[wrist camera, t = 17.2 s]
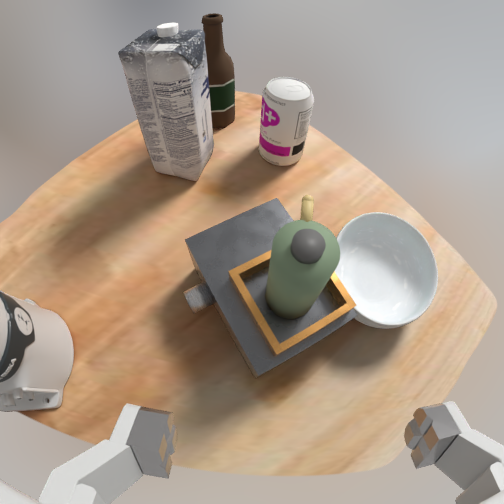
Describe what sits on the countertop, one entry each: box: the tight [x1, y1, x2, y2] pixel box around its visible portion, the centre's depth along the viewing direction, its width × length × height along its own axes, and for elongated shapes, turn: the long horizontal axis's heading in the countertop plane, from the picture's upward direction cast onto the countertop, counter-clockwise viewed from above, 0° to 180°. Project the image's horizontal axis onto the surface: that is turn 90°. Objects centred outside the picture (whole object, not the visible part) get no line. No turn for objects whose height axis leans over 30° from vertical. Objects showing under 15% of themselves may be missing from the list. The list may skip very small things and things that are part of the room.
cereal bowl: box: [334, 212, 438, 329], centre depth 41 cm, size 17×17×7 cm
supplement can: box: [259, 77, 314, 166], centre depth 48 cm, size 8×8×15 cm
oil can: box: [265, 195, 340, 319], centre depth 28 cm, size 8×6×12 cm
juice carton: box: [119, 23, 214, 181], centre depth 41 cm, size 9×10×27 cm
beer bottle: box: [202, 14, 235, 128], centre depth 48 cm, size 8×8×24 cm
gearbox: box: [183, 198, 357, 378], centre depth 37 cm, size 16×18×11 cm
